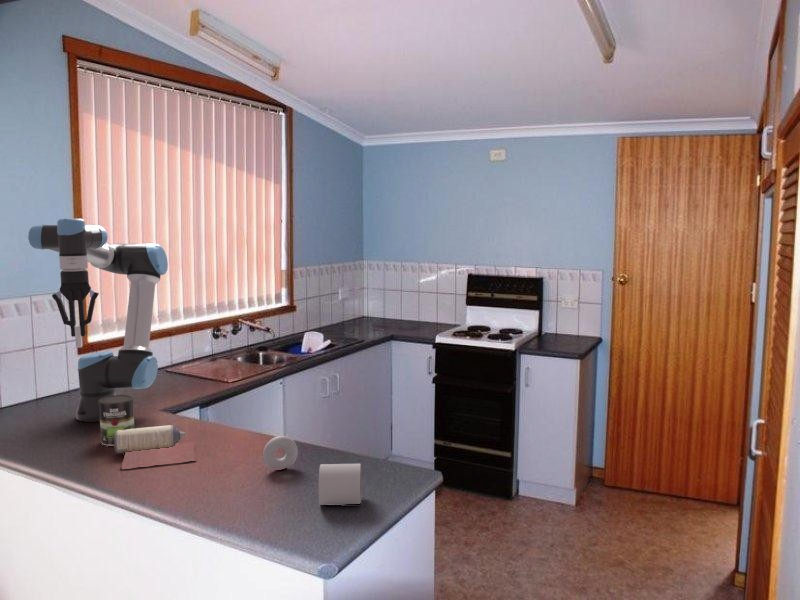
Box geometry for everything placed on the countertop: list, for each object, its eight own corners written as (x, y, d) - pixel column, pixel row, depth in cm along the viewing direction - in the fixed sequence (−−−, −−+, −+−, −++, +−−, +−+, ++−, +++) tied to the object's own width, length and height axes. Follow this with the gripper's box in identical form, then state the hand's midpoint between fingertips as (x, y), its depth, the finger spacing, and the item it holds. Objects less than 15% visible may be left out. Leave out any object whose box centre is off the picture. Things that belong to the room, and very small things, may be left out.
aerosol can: (117, 451, 201) (185, 443, 207) (114, 455, 194) (185, 447, 200) (116, 428, 201) (184, 422, 207) (113, 432, 195) (184, 425, 201)
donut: (296, 465, 189) (295, 431, 188) (299, 469, 186) (298, 435, 185) (262, 471, 185) (260, 437, 184) (265, 475, 182) (264, 440, 181)
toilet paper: (361, 494, 169) (361, 457, 168) (360, 512, 159) (359, 472, 158) (322, 495, 168) (321, 458, 167) (319, 512, 159) (318, 473, 157)
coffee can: (133, 445, 207) (131, 401, 205) (98, 448, 204) (95, 404, 202) (137, 434, 217) (135, 393, 215) (103, 437, 214) (101, 396, 212)
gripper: (47, 271, 191) (53, 350, 194) (96, 270, 196) (101, 347, 198) (52, 269, 198) (57, 346, 201) (99, 268, 203) (103, 343, 205)
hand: (79, 346), depth 200 cm, fingers closed
